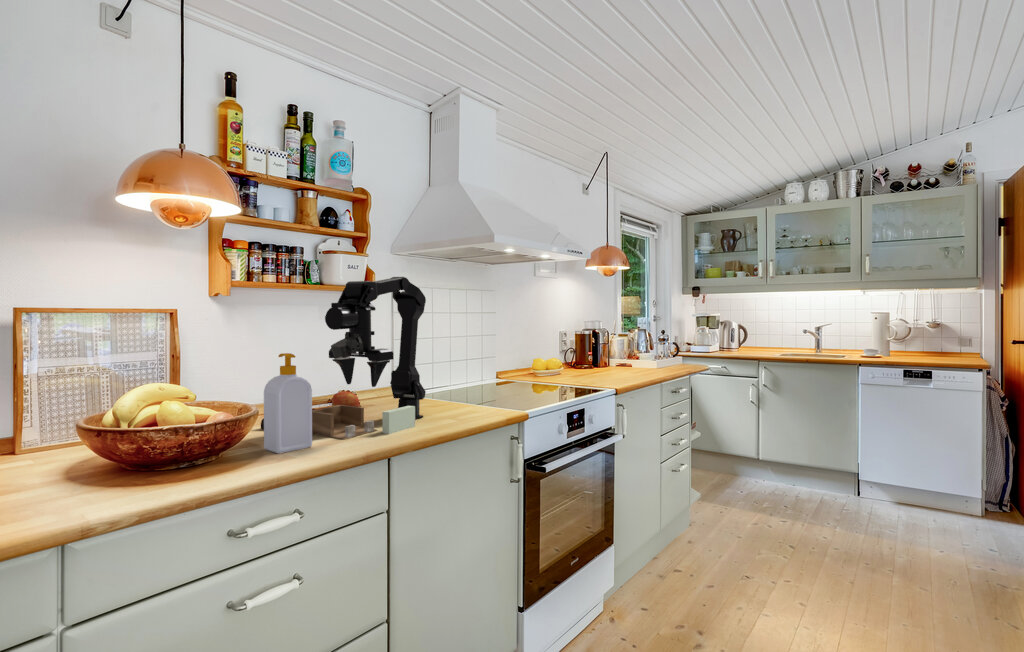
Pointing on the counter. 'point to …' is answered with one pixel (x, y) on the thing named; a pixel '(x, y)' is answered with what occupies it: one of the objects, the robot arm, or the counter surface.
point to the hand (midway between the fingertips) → (361, 385)
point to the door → (398, 419)
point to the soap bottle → (287, 410)
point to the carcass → (340, 422)
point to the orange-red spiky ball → (345, 399)
